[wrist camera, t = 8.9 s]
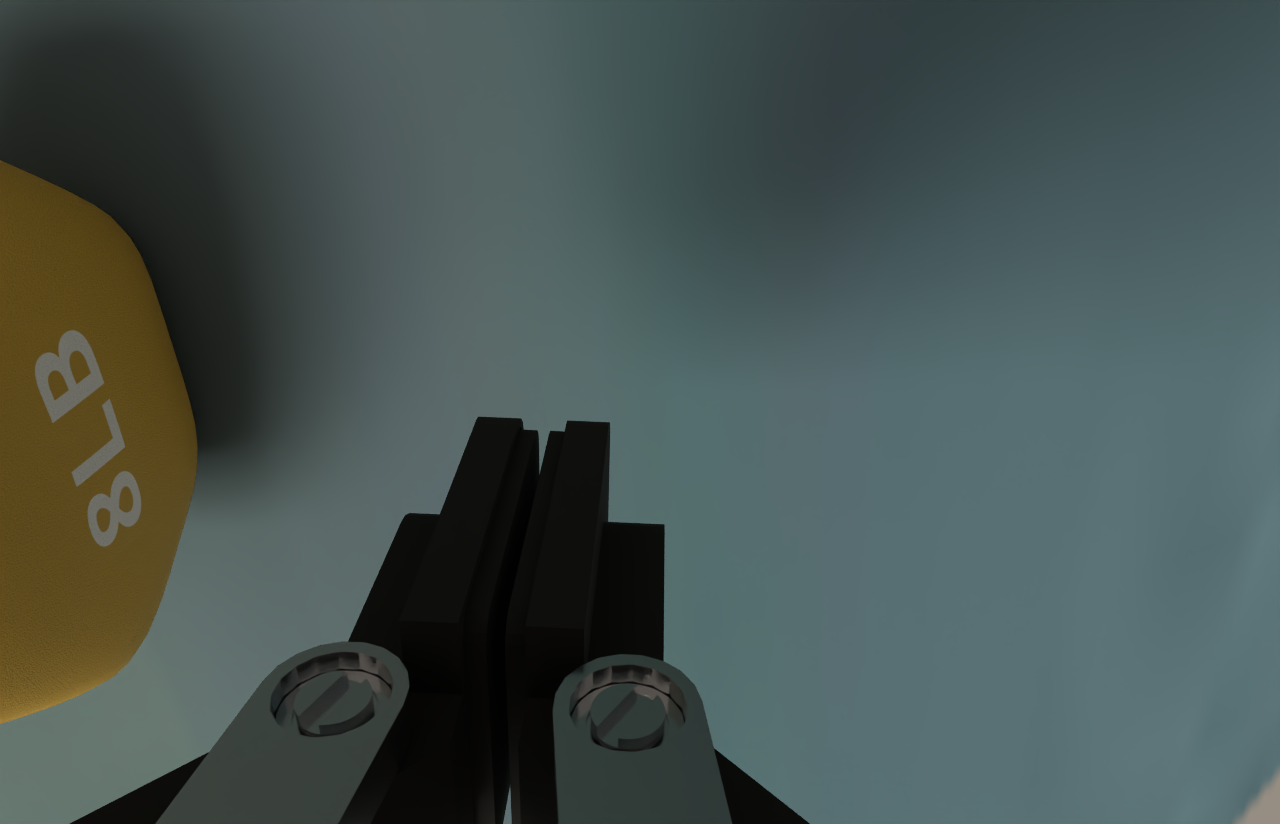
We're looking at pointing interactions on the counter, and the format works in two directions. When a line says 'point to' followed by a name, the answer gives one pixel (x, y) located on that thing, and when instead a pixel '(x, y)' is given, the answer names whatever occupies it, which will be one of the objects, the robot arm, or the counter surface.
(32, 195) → the dumbbell
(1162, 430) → the counter surface
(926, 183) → the counter surface
